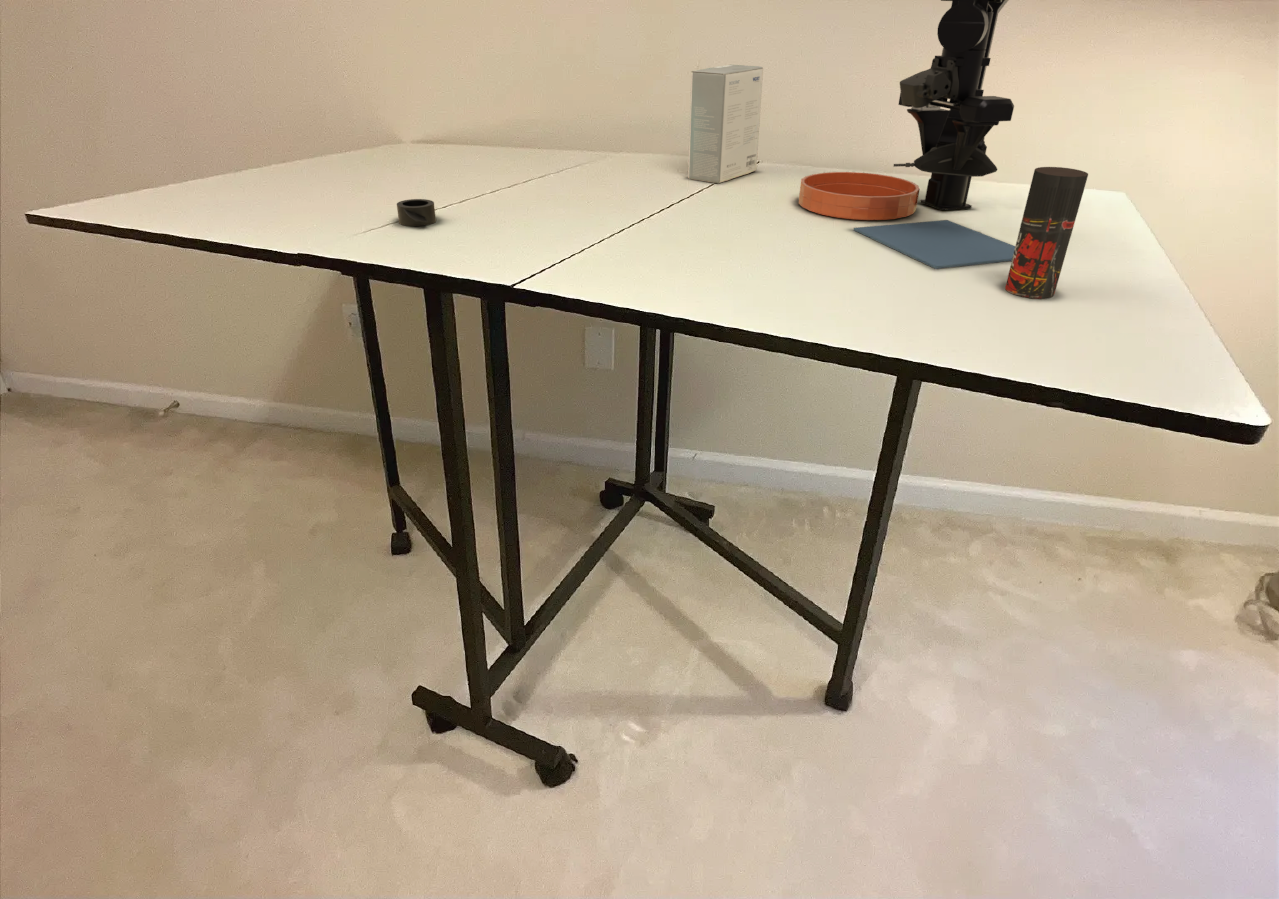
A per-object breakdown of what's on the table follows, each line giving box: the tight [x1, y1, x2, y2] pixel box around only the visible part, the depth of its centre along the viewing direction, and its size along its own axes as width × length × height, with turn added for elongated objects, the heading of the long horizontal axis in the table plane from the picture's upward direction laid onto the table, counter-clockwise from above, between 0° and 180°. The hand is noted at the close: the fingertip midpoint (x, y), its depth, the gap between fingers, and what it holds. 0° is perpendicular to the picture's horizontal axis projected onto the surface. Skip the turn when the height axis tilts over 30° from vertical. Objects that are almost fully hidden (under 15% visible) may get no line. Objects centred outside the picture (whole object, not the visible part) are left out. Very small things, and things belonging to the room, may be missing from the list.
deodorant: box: [1004, 166, 1089, 300], centre depth 101 cm, size 6×6×15 cm
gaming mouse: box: [892, 143, 998, 178], centre depth 121 cm, size 6×15×4 cm, turn 76°
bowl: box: [798, 171, 921, 221], centre depth 142 cm, size 20×20×4 cm
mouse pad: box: [853, 219, 1016, 270], centre depth 124 cm, size 18×21×1 cm
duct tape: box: [396, 198, 437, 227], centre depth 130 cm, size 8×10×3 cm
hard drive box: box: [687, 64, 764, 184], centre depth 160 cm, size 16×8×20 cm, turn 144°
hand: (941, 164), depth 121 cm, fingers closed on gaming mouse, 7 cm apart
